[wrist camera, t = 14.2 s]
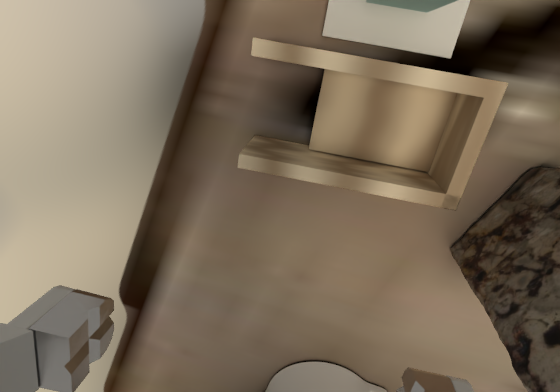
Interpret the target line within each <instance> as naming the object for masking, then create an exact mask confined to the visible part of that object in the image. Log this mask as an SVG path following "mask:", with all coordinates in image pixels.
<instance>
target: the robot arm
mask: <svg viewBox="0 0 560 392" xmlns="http://www.w3.org/2000/svg"><path fill="white" fill-rule="evenodd" d="M113 311H114V301H113V300H112V299H111V298H108V297H104V296H100V295H97V294H93V293H89V292H85V291H81V290H75V289H72V288H68V287H64V286H56V287H53V288H52V289H51V290H50V291H48V292H47V293H46V294H45V295H43V296H42V297H41V298H39V299H38V300H37V301H36V302H34V303H33V304H32V305H31V306H29V307H28V308H27V309H26V310H24V311H23V312H22V313H21V314H19V315H18V316H17V317H16V318H14V319H13V320H12V321H11V322H9V323H8V324H3V323H0V392H35V391H37V390H38V389H39V387H40V388H44V389H49V390H54V391H59V392H74V391H75V390H76V388H77V387H78V386H79V385H80V384H81V382H82V381H83V380H84V378H85V377H86V376H87V374H88V373H89V364H90V363H92V362H94V361H96V360H98V359H100V358H101V357H102V355H103V354H104V352H105V351H106V350H107V348H108V346H109V344H110V341H111V339H112V336H113V331H114V323H113V321H112V320H111V318H110V317H109V315H110V314H111V313H112V312H113ZM402 381H403V385H404V386H402V387H401V388H399V389H397V390H396V392H474V391H473V388H472V386H471V384H470V383H469V382H468V381H467V380H465V379H460V378H455V377H451V376H445V375H441V374H436V373H432V372H427V371H423V370H418V369H414V368H409V367H408V368H407V369H406V370H405V371H404V373H403V376H402ZM265 392H387V390H385V389H383V388H381V387H379V386H376V385H373V384H370V383H367V382H365V381H364V380H362V379H361V378H360V377H359V376H357V375H356V374H354V373H353V372H351V371H349V370H347V369H345V368H343V367H341V366H338V365H334V364H330V363H325V362H303V363H298V364H294V365H291V366H288V367H286V368H284V369H283V370H281V371H279V372H278V373H277V374H276V375H275V376H274V377H273V378H272V380H271V381H270V383H269V385H268V387H267V389H266V391H265Z"/></svg>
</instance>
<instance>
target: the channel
mask: <svg viewBox="0 0 560 392" xmlns="http://www.w3.org/2000/svg"><path fill="white" fill-rule="evenodd" d="M251 56H256V57H262V58H267V59H273V60H279V61H284V62H290V63H295V64H301V65H306V66H312V67H317V68H323V69H325V70H324V75H323V80H322V85H321V90H320V95H319V100H318V104H317V109H316V114H315V119H314V124H313V129H312V134H311V139H310V144H309V145H305V144H299V143H294V142H289V141H284V140H279V139H273V138H268V137H263V136H258V135H255V136H254V137H253V138H252V139H251V140H250V142H249V143H248V144H247V145H246V146H245V148H244V149H243V150H242V151H241V152H240V153H239V159H238V167H237V168H242V169H247V170H252V171H257V172H262V173H267V174H272V175H277V176H282V177H288V178H293V179H298V180H303V181H308V182H313V183H318V184H323V185H328V186H333V187H338V188H343V189H348V190H354V191H359V192H364V193H369V194H374V195H379V196H384V197H389V198H394V199H399V200H404V201H409V202H414V203H420V204H425V205H430V206H435V207H440V208H445V209H450V210H455V211H456V209H457V206H458V204H459V201H460V199H461V197H462V194H463V192H464V189H465V187H466V184H467V182H468V180H469V177H470V175H471V172H472V170H473V168H474V165H475V163H476V160H477V158H478V155H479V153H480V151H481V148H482V146H483V143H484V141H485V139H486V136H487V134H488V131H489V129H490V126H491V124H492V122H493V119H494V117H495V114H496V112H497V110H498V107H499V105H500V102H501V100H502V97H503V95H504V93H505V90H506V88H507V85H508V83H505V82H499V81H494V80H488V79H482V78H477V77H471V76H466V75H460V74H454V73H449V72H443V71H438V70H432V69H426V68H421V67H415V66H410V65H404V64H398V63H393V62H387V61H382V60H376V59H370V58H365V57H359V56H354V55H348V54H342V53H337V52H331V51H326V50H320V49H314V48H309V47H303V46H298V45H292V44H286V43H281V42H275V41H270V40H264V39H258V38H253V42H252V50H251Z"/></svg>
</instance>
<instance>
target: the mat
mask: <svg viewBox="0 0 560 392" xmlns="http://www.w3.org/2000/svg"><path fill="white" fill-rule="evenodd" d="M469 3H470V0H458V1H455V2H453V3H450V4H448V5H445V6H443V7H440V8H438V9H435V10H433V11H430V12H427V13H426V12H420V11H414V10H408V9H402V8H397V7H391V6H385V5H379V4H373V3H367V2H366V0H329V3H328V8H327V13H326V19H325V24H324V29H323V34H322V36H325V37H331V38H336V39H342V40H348V41H353V42H359V43H365V44H370V45H376V46H381V47H387V48H393V49H398V50H404V51H410V52H415V53H421V54H427V55H432V56H438V57H444V58H451V56H452V53H453V50H454V47H455V44H456V41H457V38H458V35H459V32H460V29H461V26H462V23H463V20H464V17H465V14H466V11H467V9H468V6H469Z"/></svg>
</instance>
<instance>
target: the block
mask: <svg viewBox="0 0 560 392" xmlns="http://www.w3.org/2000/svg"><path fill="white" fill-rule="evenodd" d="M455 1H458V0H366V2H367V3H373V4H379V5H385V6H391V7H397V8H402V9H408V10H414V11H420V12H426V13H427V12H430V11H433V10H435V9H438V8H440V7H443V6H445V5H448V4H450V3H453V2H455Z"/></svg>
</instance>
